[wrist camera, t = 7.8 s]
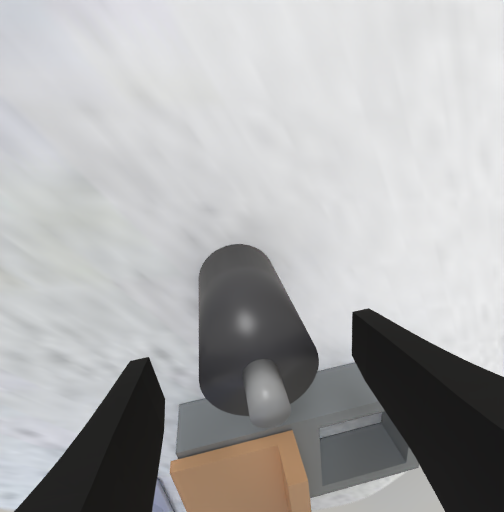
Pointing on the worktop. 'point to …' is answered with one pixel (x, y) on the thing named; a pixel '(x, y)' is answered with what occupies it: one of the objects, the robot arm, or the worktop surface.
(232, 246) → the plug
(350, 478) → the socket block
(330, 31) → the worktop surface
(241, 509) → the tan l-shaped bracket
